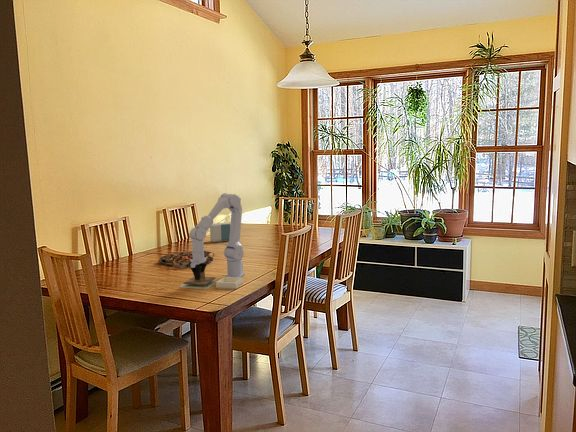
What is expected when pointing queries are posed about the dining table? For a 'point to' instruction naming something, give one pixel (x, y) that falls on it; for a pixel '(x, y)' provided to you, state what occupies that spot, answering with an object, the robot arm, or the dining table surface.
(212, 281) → the beige flat square piece
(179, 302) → the dining table surface
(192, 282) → the lid
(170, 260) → the food dish
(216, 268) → the dining table surface
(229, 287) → the white square tray
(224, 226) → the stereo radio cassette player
